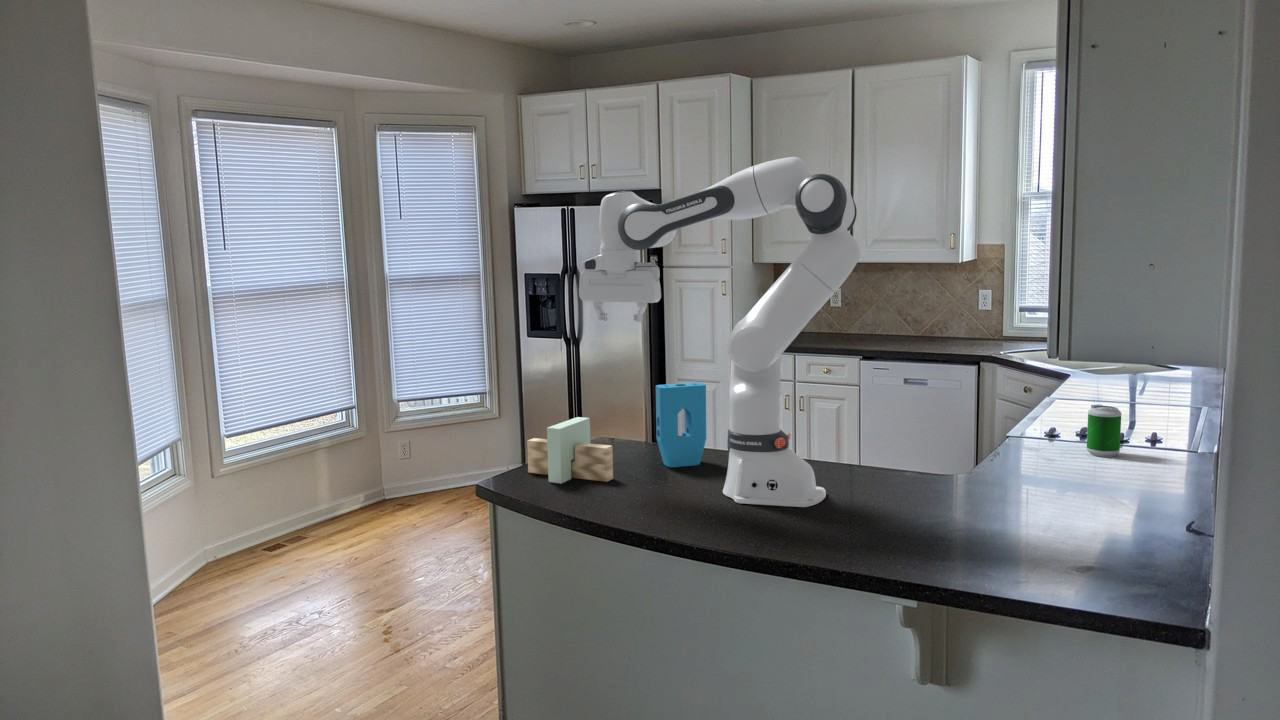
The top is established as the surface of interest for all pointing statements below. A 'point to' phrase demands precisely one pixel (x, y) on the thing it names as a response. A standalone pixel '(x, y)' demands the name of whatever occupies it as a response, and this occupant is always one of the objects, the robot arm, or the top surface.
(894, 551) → the top surface
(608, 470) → the oak board
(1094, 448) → the soda can
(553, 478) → the sage plate
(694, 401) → the block
